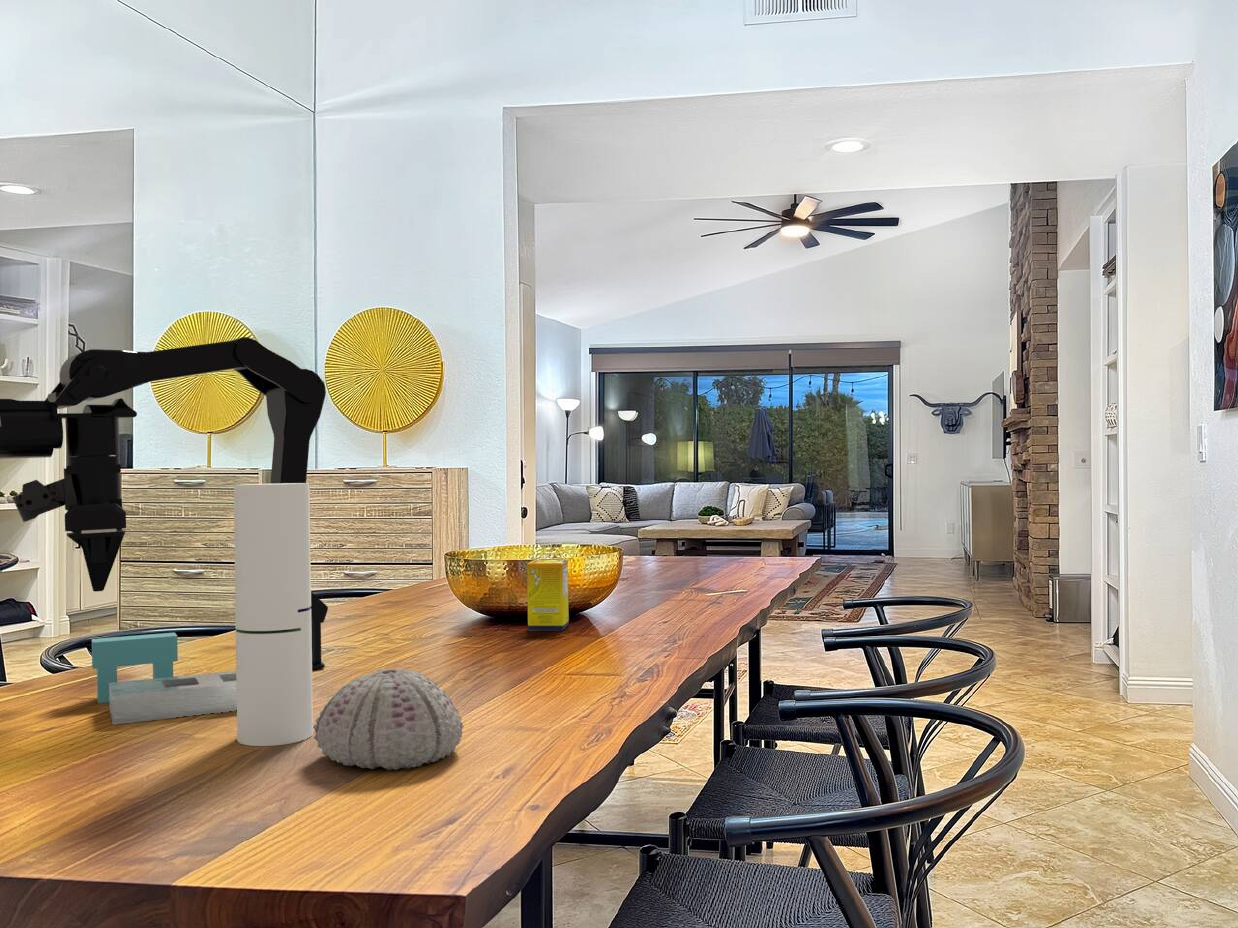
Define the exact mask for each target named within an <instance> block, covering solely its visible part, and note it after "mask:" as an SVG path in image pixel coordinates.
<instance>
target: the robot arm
mask: <svg viewBox="0 0 1238 928" xmlns="http://www.w3.org/2000/svg"><path fill="white" fill-rule="evenodd" d="M230 370H234V371H236V373H238V374H239V375H240V376H241V377H243V378H244V379H245V381H246V382H247V383H249V385H251V387H252V388H254V390H256V391H258V392H259V393H260V394H262V396H263V395H264V396H265V400H266V410H267V411H266V412H267V417H268V420H269V424H270V427H271V430H272V433H273V434H272V435H273V448H272V458H271V459H272V460H271V461H272V463H271V472H270V475H271V476H270V482H269V484H282V483H307V477H308V468H309V467H308V466H309V465H308V464H309V452H310V451H309V450H310V440H311V438H312V436H313V435H312V434H313V433H314V431H315V428H316V427H317V424H318V422H319V420H320V419H321V415H322V412H323V407H324V404H325V403H324V402H325V398H326V395H327V393H326V392H327V391H326V384H325V381H323V379H322V378H321V377H320V375H319V374H318V373H317V372H315V371H313V370H311V369H308V368H301V367H299V366H298V365H297V364H296V363H294V362H292V361H291V360H289V359H288V358H286V357H284V356H282V355H280V354H278V353H276V352H274V351H272V350H270V349H268V348H267V347H265V346H264V345H262V343H260V342H259V341H257V340H256V339H254V338H252V337H250V336H242V337H239V338H236V339H232V340H227V341H220V342H213V343H205V344H197V345H189V346H181V347H174V348H168V349H159V350H153V351H152V350H151V351H133V350H132V351H131V350H123V349H122V350H121V349H103V348H102V349H99V348H98V349H97V348H96V349H95V348H94V349H92V348H91V349H88V350H84V351H82V352H79V353H77V354H74V355H72V356H70V357H68V358H67V359H66V360H65V361H64V362H63V364H62V365H61V368H60V370H59V382H58V384H56V386H55V387H54V388H53V389H52V391H51V393H48V394H47V397H46V398H45V399H44V400H19V399H18V400H16V399H13V398H12V399H11V398H0V460H1V459H37V458H42V459H43V458H44V459H45V458H51V457H52V456H53V454H54V450H55V449H56V450H57V449H58V450H59V449H62V446H63V443H64V427H63V420H64V423H65V450H66V453H65V454H66V468H63V478H61V479H59V480H56V481H54V482H51V483H48V484H45V485H44V484H43V483H42V482H41V481H39V480H38V479H34V480H32V481H29V482H26V483H24V484H22V489H21V493H20V494H17V495H15V496H12V501H13V502H14V504H15V506H16V509H17V511H18V513H19V515H20V518H21V520H22V522H23V523H26V522H28V521H31V520H34V519H36V518H37V517H39V516H40V515H42V514H46V513H48V512H50V511H53V510H55V509H58V508H61V507H63V506H64V510H65V511H67V512H65V513H64V532H67V533H66V537H68V538H69V539H71V540H72V541H73V542H75V543H76V544H77V545H78V546H79V547H81V549H82V553H83V557H84V561H85V565H86V568H87V572H88V577H89V581H90V584H91V588H92V591H93V592H94V593H95V592H96V593H97V592H103V591H104V590H105V588H106V586H107V583H108V579H109V576H110V574H111V572H112V569H113V566H114V564H115V561H116V558H117V556H118V552H119V550H120V548H121V545H122V542H123V540H124V537H125V535H126V530H125V529H127V511H126V510H125V509H124V507H123V500H122V483H121V482H122V477H121V476H122V475H121V474H122V473H121V472H122V467H121V465H122V464H121V456H120V454H121V453H120V452H121V450H120V449H121V447H120V427H119V426H120V424H119V423H120V422H119V419H131V418H132V419H133V418H136V417H137V416H138V412H137V411H136V410H134V409H133V408H131V407H130V406H129V405H128V404H127V403H126V402H125V400H124V399H123V398H122V397H121V398H116V399H114V401H113V402H112V403H111V404H85V406H84V408H83V410H82V412H81V413H80V412H72V413H71V412H69V413H68V412H66V413H65V412H64V413H62V412H61V413H60V412H59V413H58V410H63V409H65V408H70V407H74V406H78V405H79V404H80V403H82V402H85V401H86V402H87V401H94V400H98V399H102V398H106V397H110V396H112V395H116V394H118V393H121V392H124V391H125V392H126V391H127V390H130V389H133V388H136V387H139V386H141V385H144V384H148V383H151V382H152V383H153V382H159V381H163V380H164V381H165V380H170V379H177V378H184V377H191V376H196V375H197V376H198V375H203V374H205V375H206V374H211V373H218V372H222V371H223V372H225V371H230ZM310 608H311V629H312V670H317V669H323V668H326V666H325V665H326V664H325V663H324V662H322V623H324V622H325V620H326V616H327V614H328V610H329V607H328V605H326V603H324V602H323V601H322V600H321V599H320V598H319V597H318V596H317V595H316V594H314V593H313V592H312V591H311V606H310Z"/></svg>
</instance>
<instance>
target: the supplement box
mask: <svg viewBox="0 0 1238 928" xmlns="http://www.w3.org/2000/svg"><path fill="white" fill-rule="evenodd" d="M568 567H569V566H568V560H567V559H534V560H531V561H530V562H528V563H526V585H527V586H526V587H527V591H526V592H527V627H528V628H527V630H528V631H529V632H530V631H531V632H536V631H544V632H546V631H550V632H551V631H552V632H553V631H564V630H565V629H566V628H567V626H569V625H570V624H569V619H570V617H569V616H570V615H569V575H568V574H569V573H568V572H569V570H568Z"/></svg>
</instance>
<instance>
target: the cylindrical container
mask: <svg viewBox="0 0 1238 928" xmlns="http://www.w3.org/2000/svg"><path fill="white" fill-rule="evenodd" d="M310 494H311V493H310V483H307V482H306V483H282V484H270V483H243V484H242V483H241V484H233V521H234V522H233V523H234V524H233V525H234V527H233V528H234V530H233V531H234V532H233V533H234V534H233V535H234V541H233V542H234V599H235V601H234V605H235V606H234V609H235V610H234V611H235V669H236V670H235V671H236V687H237V711H236V736H237V737H236V739H237V743H238V744H241V745H245V746H251V747H272V746H273V747H275V746H283V745H289V744H290V745H291V744H295V743H298V742H299V743H300V742H302V740H303V741H305V740H307V738H308V739H310V738H311V737H312V736H313V735H314V728H313V727H314V721H313V720H314V718H313V717H314V715H313V714H314V712H313V710H314V708H313V706H314V705H313V704H314V703H313V669H312V629H311V608H310V606H311V592H312V580H311V579H312V577H311V576H312V574H311V572H312V571H311V570H312V568H311V505H310V503H311V502H310V501H311V500H310V498H311V497H310V496H311V495H310ZM309 737H310V738H309Z"/></svg>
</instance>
